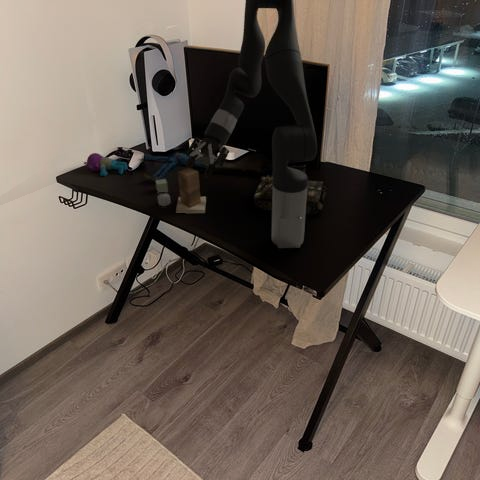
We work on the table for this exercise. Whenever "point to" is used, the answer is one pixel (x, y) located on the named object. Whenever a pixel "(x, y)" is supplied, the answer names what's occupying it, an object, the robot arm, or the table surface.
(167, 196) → the grey rubber puck
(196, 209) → the birch coaster
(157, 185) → the sage cube
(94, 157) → the toy
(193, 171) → the walnut post
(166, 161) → the toy character
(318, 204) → the model tank
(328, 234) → the table surface
